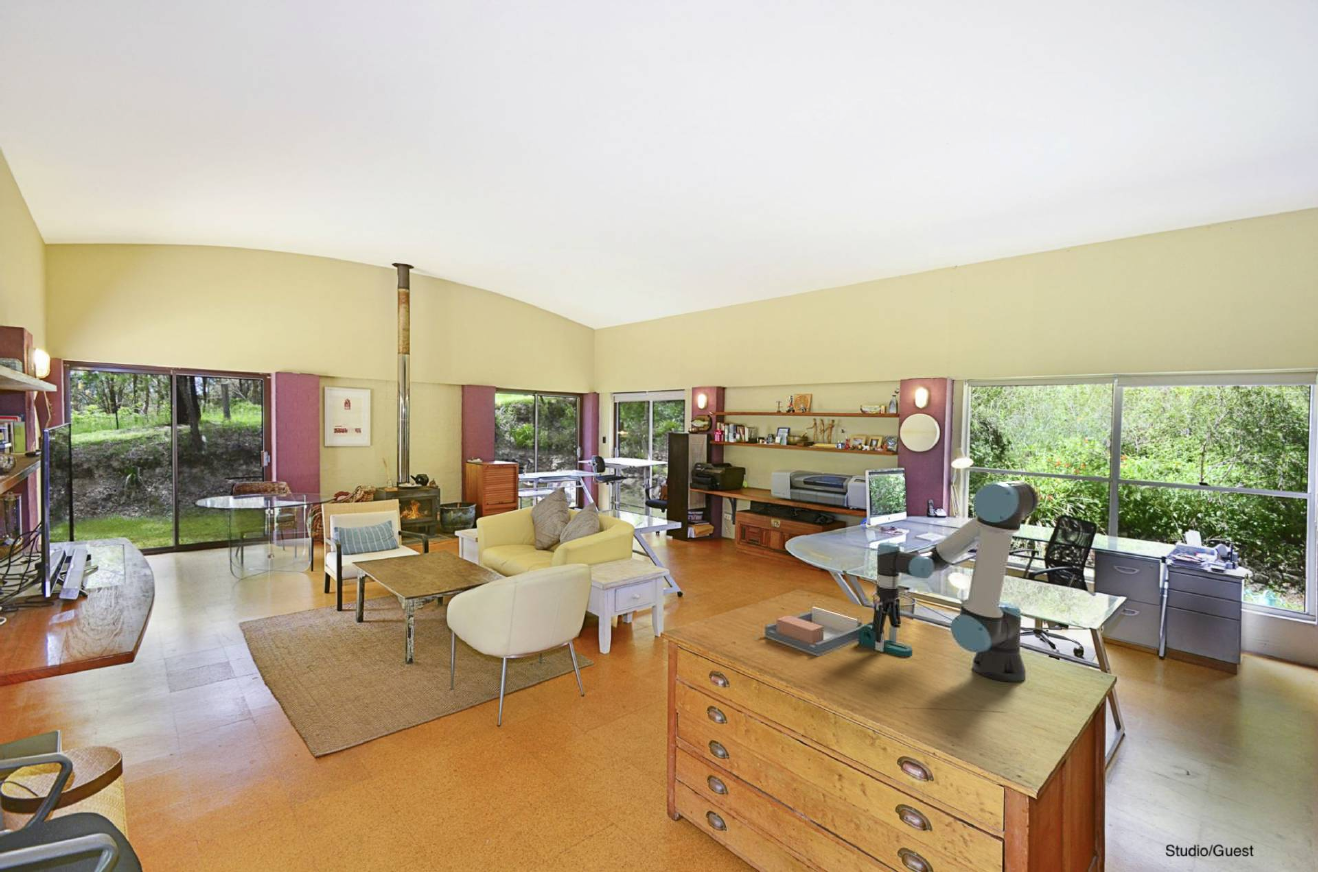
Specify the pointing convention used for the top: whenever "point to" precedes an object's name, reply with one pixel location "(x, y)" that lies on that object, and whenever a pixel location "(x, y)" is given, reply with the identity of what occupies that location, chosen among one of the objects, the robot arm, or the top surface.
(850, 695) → the top surface
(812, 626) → the box
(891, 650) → the bracket
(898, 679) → the top surface
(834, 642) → the grey tray
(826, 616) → the pusher plate
